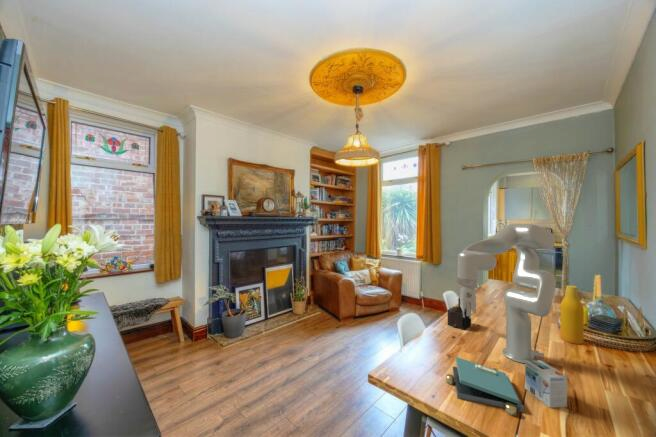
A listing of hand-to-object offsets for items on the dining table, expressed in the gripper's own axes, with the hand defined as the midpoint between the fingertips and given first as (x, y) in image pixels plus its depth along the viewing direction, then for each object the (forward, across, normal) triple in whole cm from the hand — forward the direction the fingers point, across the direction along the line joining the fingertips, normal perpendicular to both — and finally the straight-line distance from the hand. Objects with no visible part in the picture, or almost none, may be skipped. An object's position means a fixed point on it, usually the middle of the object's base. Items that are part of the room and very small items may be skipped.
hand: (466, 327), depth 108 cm
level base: (+20, -6, -4) cm, 22 cm away
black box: (+19, +56, -5) cm, 59 cm away
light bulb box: (+20, -3, -26) cm, 33 cm away
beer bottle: (+18, +58, -57) cm, 83 cm away
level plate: (+17, -6, -6) cm, 19 cm away
